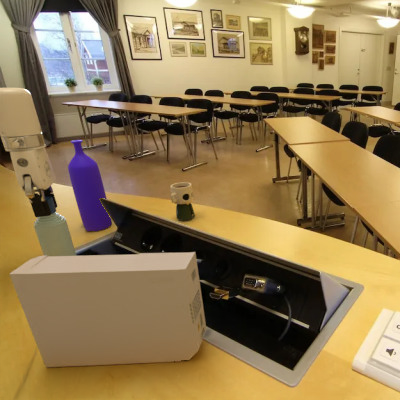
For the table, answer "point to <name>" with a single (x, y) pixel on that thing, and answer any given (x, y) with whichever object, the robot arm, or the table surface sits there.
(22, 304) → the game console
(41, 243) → the water bottle
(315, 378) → the table surface
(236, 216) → the table surface
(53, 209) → the cap
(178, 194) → the character mug
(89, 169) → the bottle
